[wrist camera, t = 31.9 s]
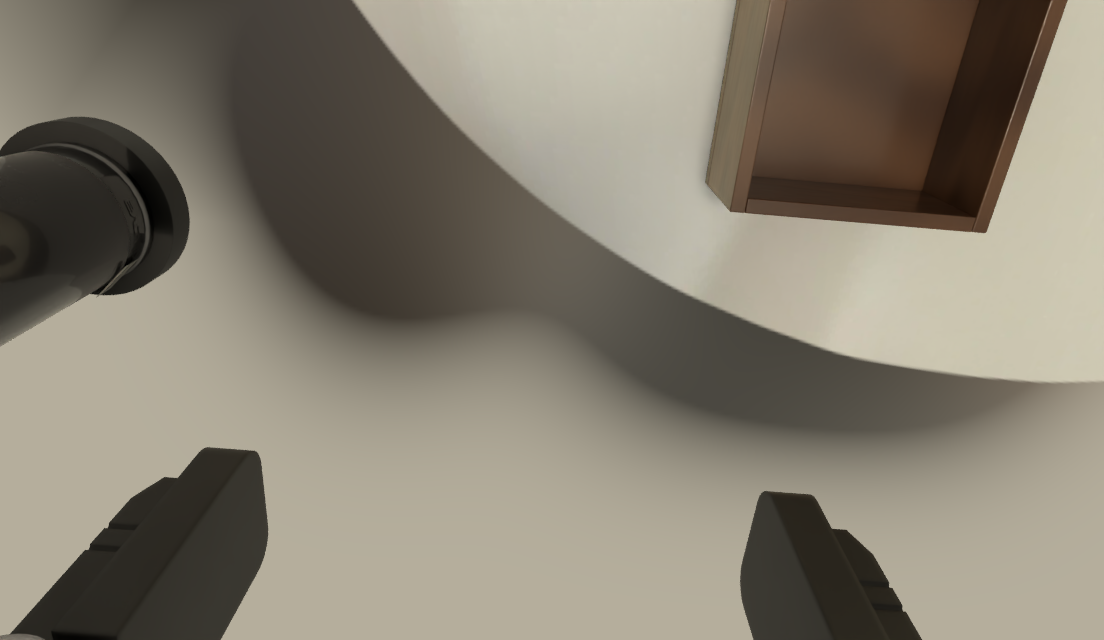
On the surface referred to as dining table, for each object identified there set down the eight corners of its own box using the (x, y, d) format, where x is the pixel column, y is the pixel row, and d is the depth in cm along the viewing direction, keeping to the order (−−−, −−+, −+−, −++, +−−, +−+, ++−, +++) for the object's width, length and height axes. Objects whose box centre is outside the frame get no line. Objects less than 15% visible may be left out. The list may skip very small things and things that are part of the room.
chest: (924, 201, 42) (986, 233, 36) (705, 182, 42) (729, 211, 36) (1000, -48, 37) (1089, -61, 31) (748, -72, 37) (787, -89, 30)
